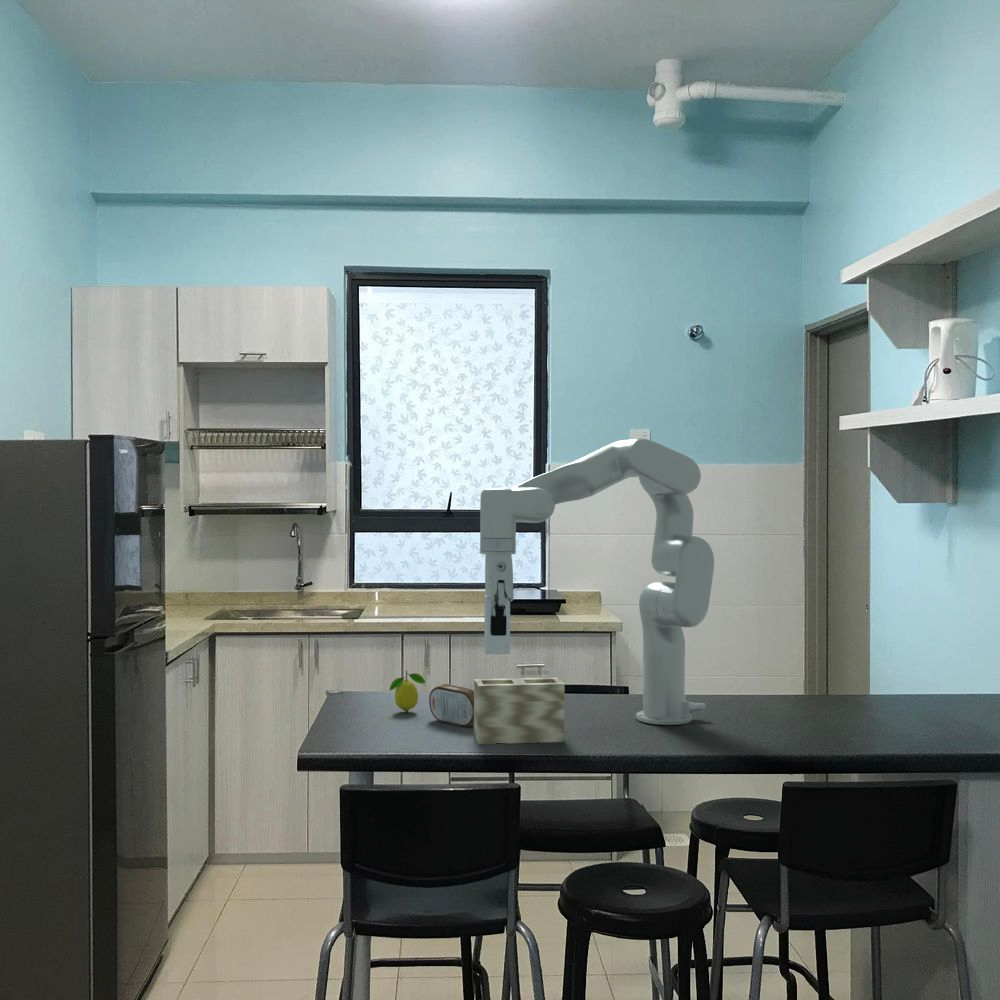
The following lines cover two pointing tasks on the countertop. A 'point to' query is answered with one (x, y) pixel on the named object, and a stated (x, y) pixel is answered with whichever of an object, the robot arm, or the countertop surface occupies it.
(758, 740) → the countertop surface
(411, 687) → the lemon
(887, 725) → the countertop surface
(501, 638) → the grey slab
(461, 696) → the tin
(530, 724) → the two-slot cinder block
